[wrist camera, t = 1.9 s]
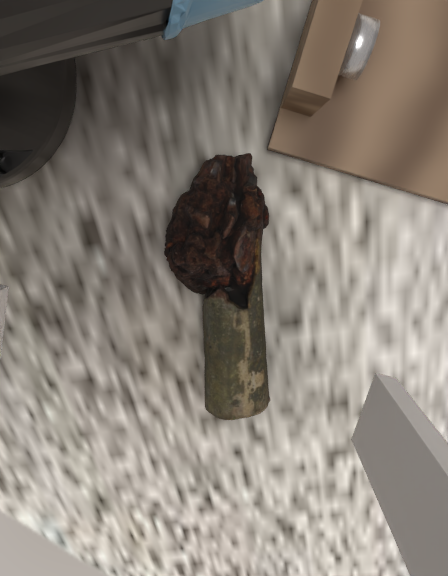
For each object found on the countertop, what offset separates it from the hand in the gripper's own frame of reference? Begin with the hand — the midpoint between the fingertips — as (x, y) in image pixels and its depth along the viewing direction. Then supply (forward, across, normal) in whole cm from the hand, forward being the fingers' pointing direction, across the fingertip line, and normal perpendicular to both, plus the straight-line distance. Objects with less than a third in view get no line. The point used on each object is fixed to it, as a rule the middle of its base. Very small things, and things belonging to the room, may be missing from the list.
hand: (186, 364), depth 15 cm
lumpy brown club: (+17, +1, -1) cm, 17 cm away
